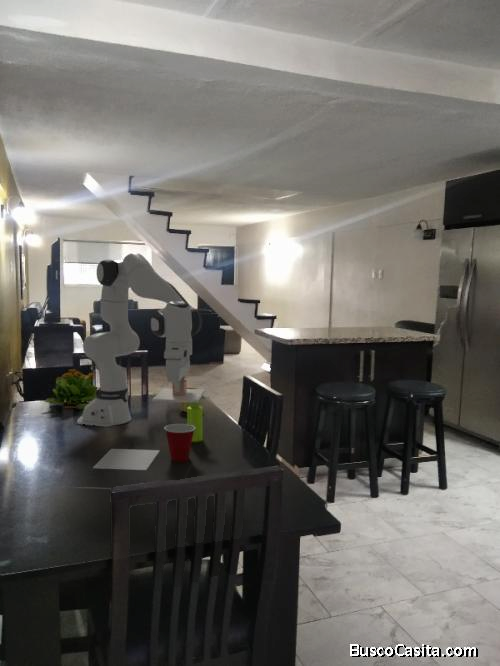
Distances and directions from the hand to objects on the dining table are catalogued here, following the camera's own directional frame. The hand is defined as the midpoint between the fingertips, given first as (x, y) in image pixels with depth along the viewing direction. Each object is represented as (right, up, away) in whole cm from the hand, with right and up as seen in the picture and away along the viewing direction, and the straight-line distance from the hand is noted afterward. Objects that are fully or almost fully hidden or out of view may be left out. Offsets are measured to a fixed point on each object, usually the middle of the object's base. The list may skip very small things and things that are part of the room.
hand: (179, 389), depth 171 cm
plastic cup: (0, -25, +3) cm, 25 cm away
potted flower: (-61, -16, +69) cm, 94 cm away
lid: (0, -2, 0) cm, 2 cm away
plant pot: (-5, -17, +64) cm, 67 cm away
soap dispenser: (+3, -23, +23) cm, 32 cm away
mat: (-18, -25, +2) cm, 31 cm away
